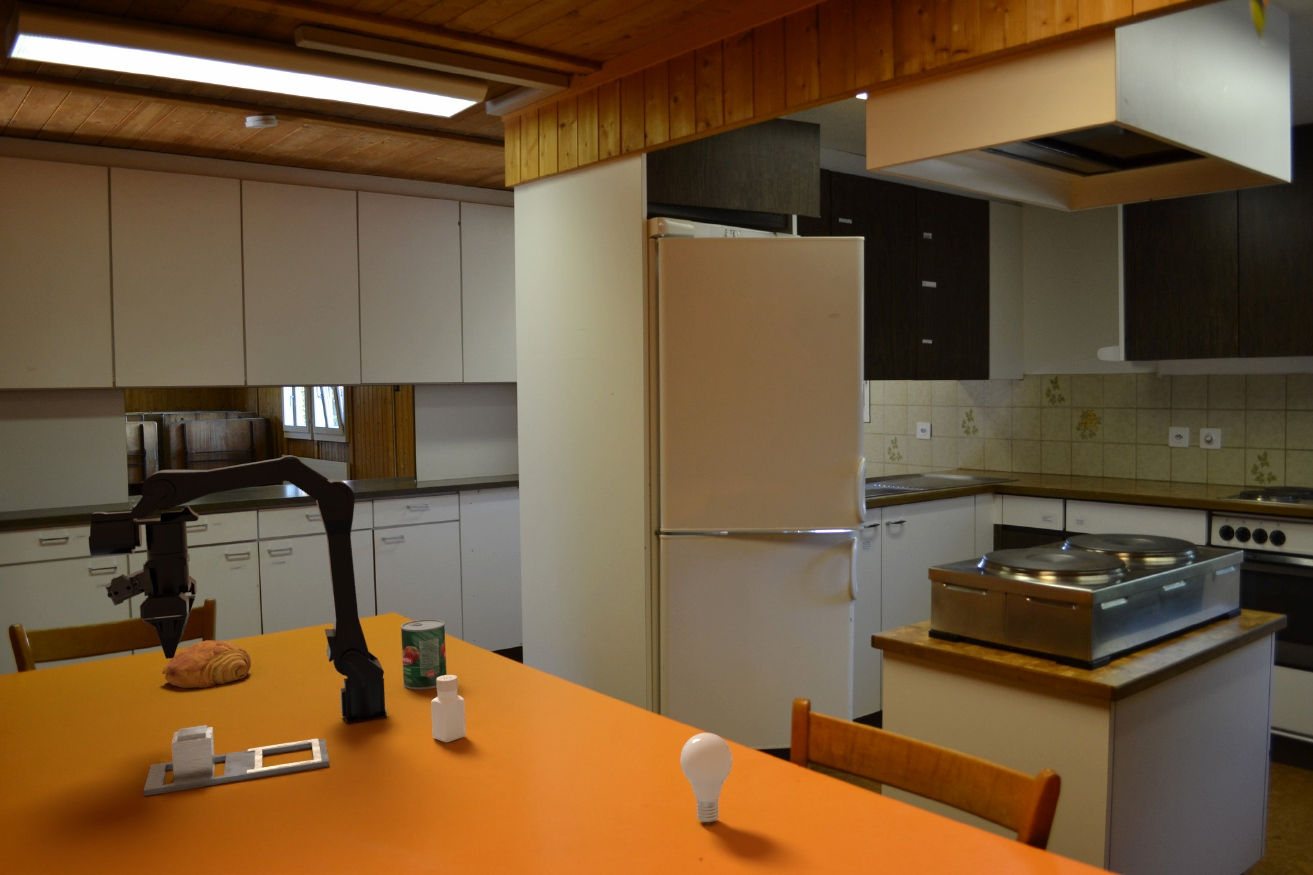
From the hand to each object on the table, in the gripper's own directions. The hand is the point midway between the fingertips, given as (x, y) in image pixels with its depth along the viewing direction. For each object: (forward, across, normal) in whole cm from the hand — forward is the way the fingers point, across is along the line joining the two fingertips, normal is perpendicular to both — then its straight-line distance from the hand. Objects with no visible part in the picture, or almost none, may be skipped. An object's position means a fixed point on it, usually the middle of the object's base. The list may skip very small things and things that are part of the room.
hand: (173, 650), depth 154 cm
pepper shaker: (+15, +16, +40) cm, 45 cm away
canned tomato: (+15, -15, +40) cm, 45 cm away
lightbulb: (+15, +60, +64) cm, 89 cm away
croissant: (+15, -37, +2) cm, 40 cm away
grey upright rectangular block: (+15, +16, +4) cm, 22 cm away
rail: (+15, +16, +10) cm, 23 cm away
